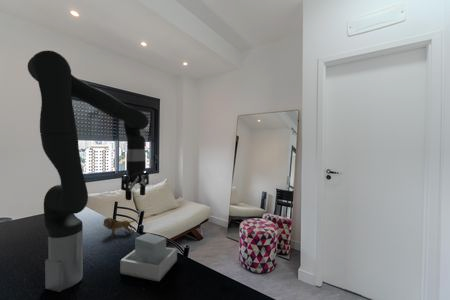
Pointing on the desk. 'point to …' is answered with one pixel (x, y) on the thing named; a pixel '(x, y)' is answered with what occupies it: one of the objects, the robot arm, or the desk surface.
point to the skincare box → (150, 249)
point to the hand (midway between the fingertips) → (136, 197)
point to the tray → (148, 266)
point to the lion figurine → (117, 225)
